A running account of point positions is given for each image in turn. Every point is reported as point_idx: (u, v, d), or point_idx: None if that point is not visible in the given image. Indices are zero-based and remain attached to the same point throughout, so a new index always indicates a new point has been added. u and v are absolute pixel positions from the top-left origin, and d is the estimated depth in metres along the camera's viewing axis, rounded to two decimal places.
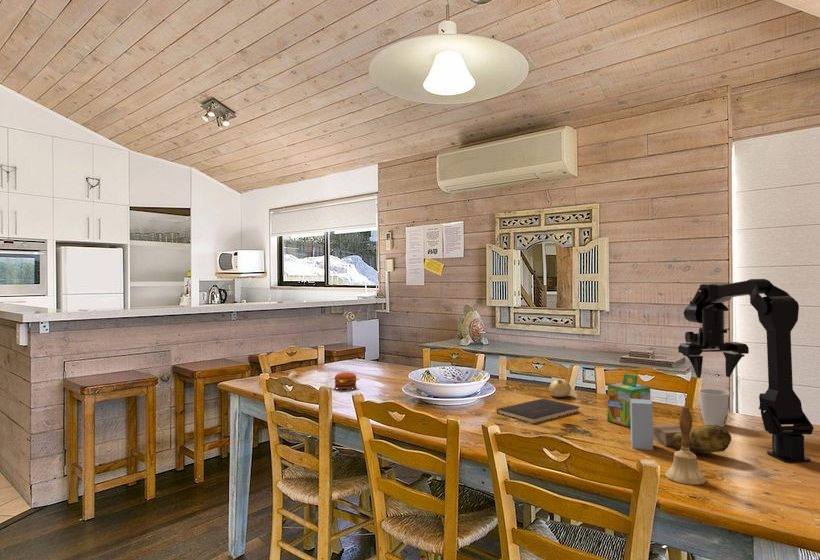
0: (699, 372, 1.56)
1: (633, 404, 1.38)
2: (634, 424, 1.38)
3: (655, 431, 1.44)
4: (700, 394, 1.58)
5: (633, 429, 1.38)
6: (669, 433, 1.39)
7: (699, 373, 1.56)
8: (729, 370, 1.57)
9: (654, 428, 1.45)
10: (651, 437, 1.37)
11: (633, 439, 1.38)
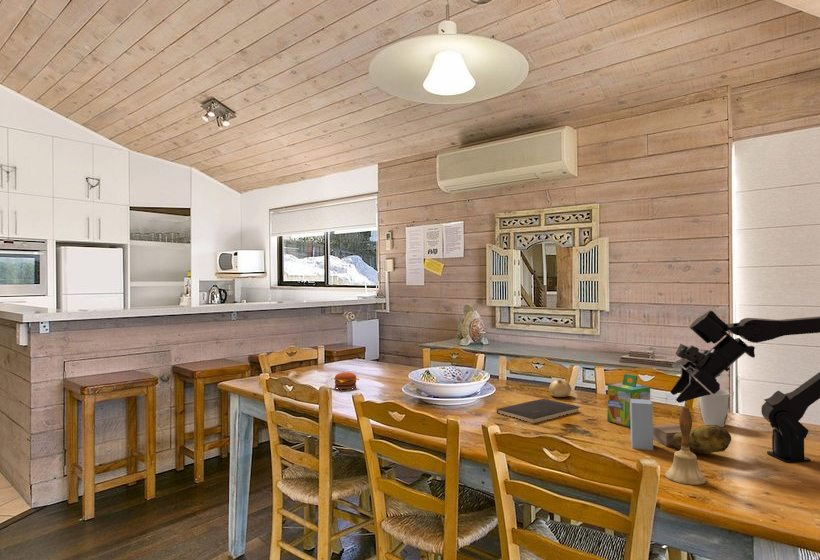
0: None
1: (633, 404, 1.38)
2: (634, 424, 1.38)
3: (655, 431, 1.44)
4: None
5: (633, 429, 1.38)
6: (670, 433, 1.39)
7: (685, 400, 1.32)
8: (680, 390, 1.41)
9: (654, 428, 1.44)
10: (651, 437, 1.37)
11: (633, 439, 1.38)
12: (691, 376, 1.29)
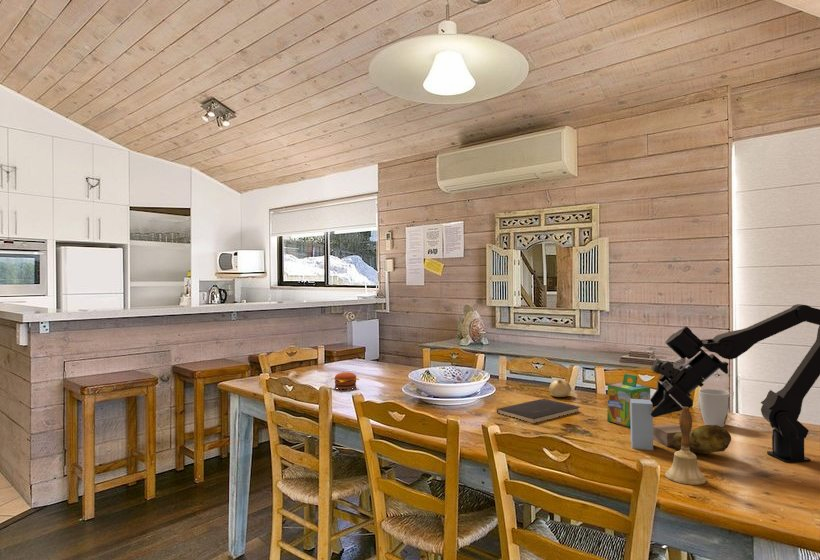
0: (660, 415, 1.34)
1: (633, 404, 1.38)
2: (634, 424, 1.38)
3: (655, 431, 1.44)
4: (700, 394, 1.58)
5: (633, 429, 1.38)
6: (671, 433, 1.39)
7: None
8: (655, 404, 1.43)
9: (654, 428, 1.44)
10: (651, 437, 1.37)
11: (633, 439, 1.38)
12: (665, 391, 1.31)
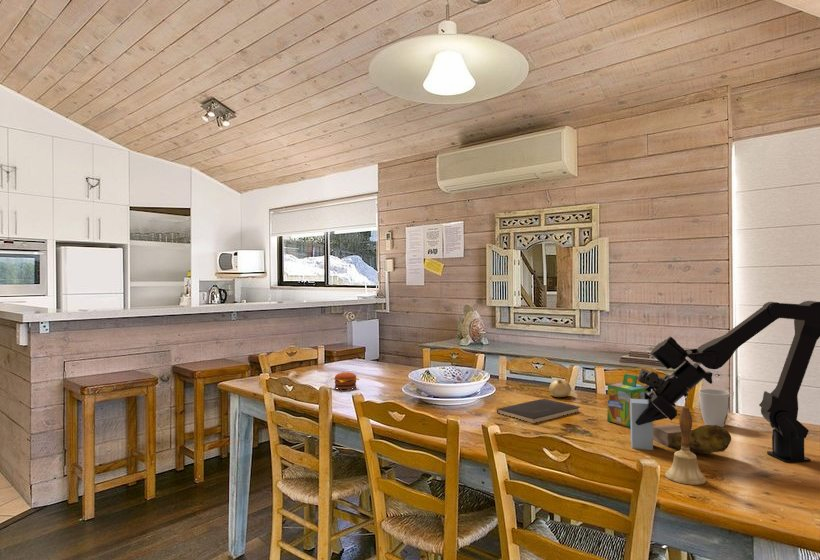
0: None
1: (633, 404, 1.38)
2: (634, 424, 1.38)
3: (655, 431, 1.44)
4: (700, 394, 1.58)
5: (633, 429, 1.38)
6: (671, 433, 1.39)
7: None
8: None
9: (654, 428, 1.44)
10: (651, 437, 1.37)
11: (633, 439, 1.38)
12: (649, 400, 1.34)
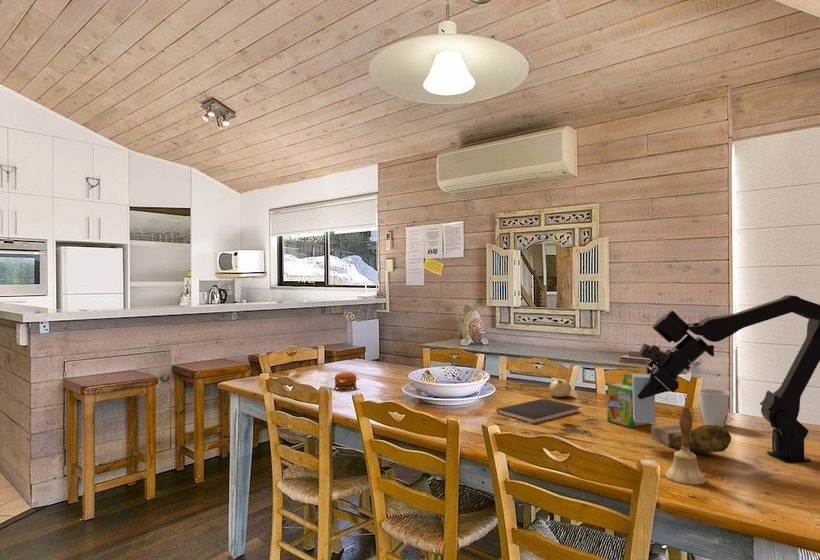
0: (647, 396, 1.37)
1: (635, 378, 1.38)
2: (636, 398, 1.38)
3: (655, 432, 1.44)
4: (700, 394, 1.58)
5: (635, 403, 1.38)
6: (672, 433, 1.39)
7: None
8: None
9: (654, 429, 1.44)
10: (653, 411, 1.37)
11: (635, 413, 1.38)
12: (651, 373, 1.34)
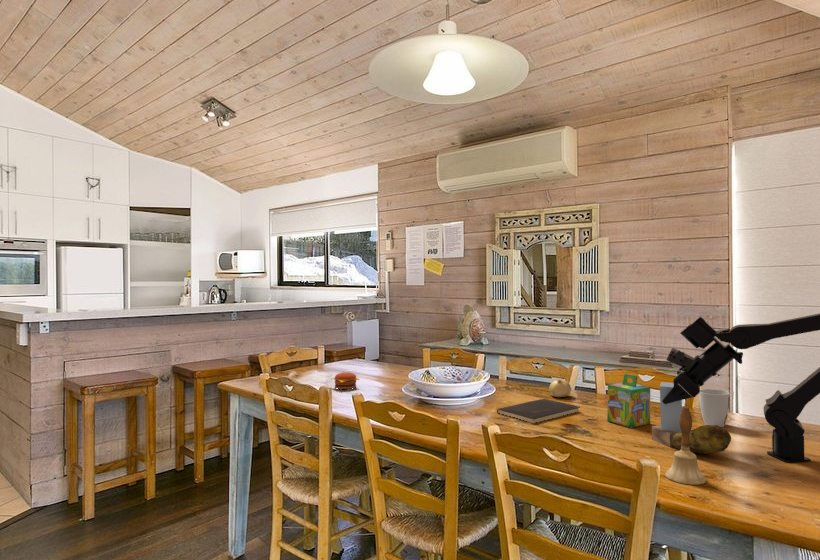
0: (671, 402, 1.38)
1: (661, 387, 1.41)
2: (662, 407, 1.41)
3: (656, 432, 1.43)
4: (700, 394, 1.58)
5: (661, 411, 1.41)
6: (673, 434, 1.39)
7: (670, 402, 1.38)
8: None
9: (655, 429, 1.44)
10: None
11: (661, 421, 1.41)
12: None
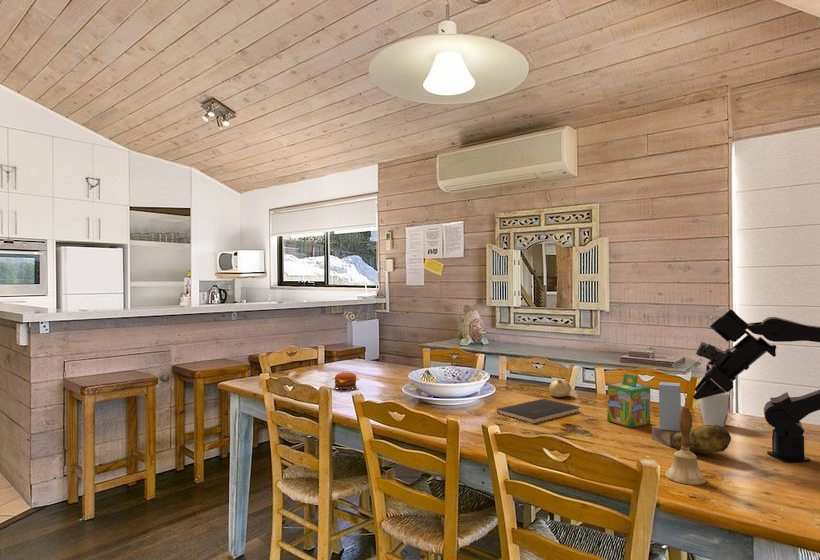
0: (703, 397, 1.34)
1: (660, 386, 1.42)
2: (661, 406, 1.42)
3: (656, 432, 1.44)
4: None
5: (660, 410, 1.42)
6: (673, 433, 1.39)
7: (701, 398, 1.35)
8: None
9: (655, 429, 1.44)
10: (678, 418, 1.39)
11: (660, 420, 1.42)
12: (705, 374, 1.32)
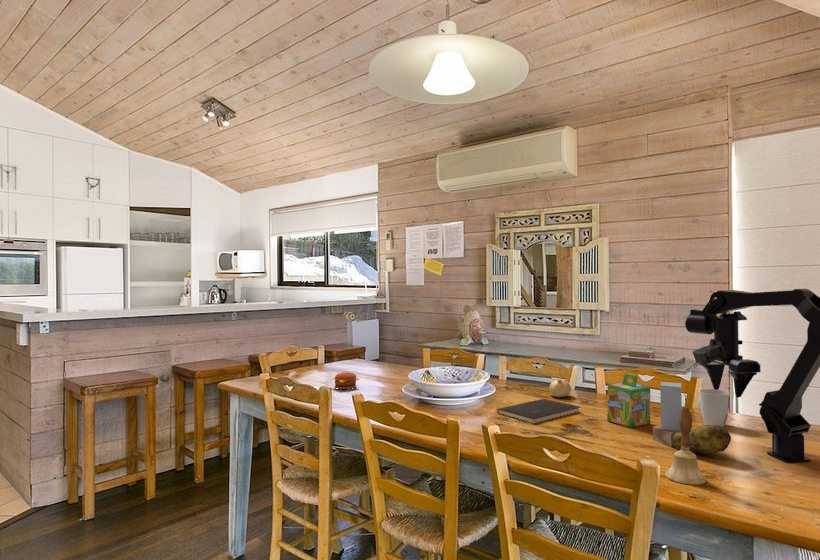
0: None
1: (661, 386, 1.42)
2: (663, 406, 1.42)
3: (657, 432, 1.43)
4: (700, 394, 1.58)
5: (661, 411, 1.42)
6: None
7: None
8: (719, 382, 1.47)
9: (656, 429, 1.44)
10: None
11: (661, 420, 1.42)
12: (734, 373, 1.35)
